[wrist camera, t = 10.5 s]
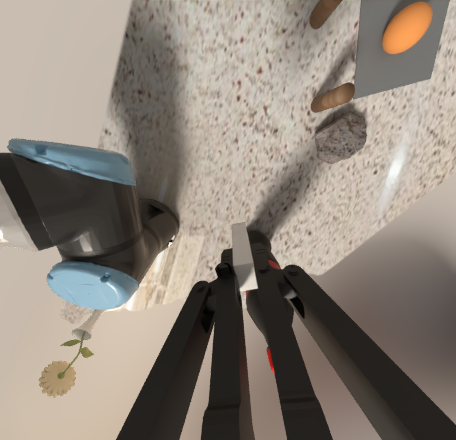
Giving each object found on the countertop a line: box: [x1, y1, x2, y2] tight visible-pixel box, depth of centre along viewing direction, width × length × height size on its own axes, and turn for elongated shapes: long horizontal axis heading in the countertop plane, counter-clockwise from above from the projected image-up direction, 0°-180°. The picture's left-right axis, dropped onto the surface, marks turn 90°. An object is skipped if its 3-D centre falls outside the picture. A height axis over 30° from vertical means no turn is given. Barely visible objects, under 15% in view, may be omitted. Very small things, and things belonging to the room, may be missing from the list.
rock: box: [315, 112, 367, 164], centre depth 34 cm, size 9×11×4 cm
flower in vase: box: [39, 302, 127, 397], centre depth 46 cm, size 13×11×25 cm
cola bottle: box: [246, 231, 294, 373], centre depth 34 cm, size 8×8×30 cm
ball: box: [382, 2, 433, 54], centre depth 26 cm, size 6×6×6 cm
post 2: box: [311, 83, 355, 113], centre depth 29 cm, size 3×3×9 cm
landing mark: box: [353, 0, 450, 99], centre depth 29 cm, size 14×14×1 cm
